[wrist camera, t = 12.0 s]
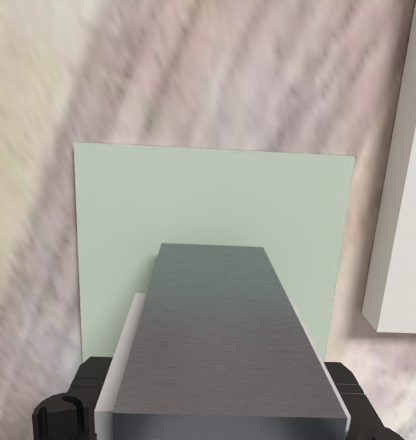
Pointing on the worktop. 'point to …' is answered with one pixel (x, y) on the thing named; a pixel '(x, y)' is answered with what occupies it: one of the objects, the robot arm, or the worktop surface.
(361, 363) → the worktop surface
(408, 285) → the rail
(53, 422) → the robot arm
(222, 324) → the square block
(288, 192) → the pad
